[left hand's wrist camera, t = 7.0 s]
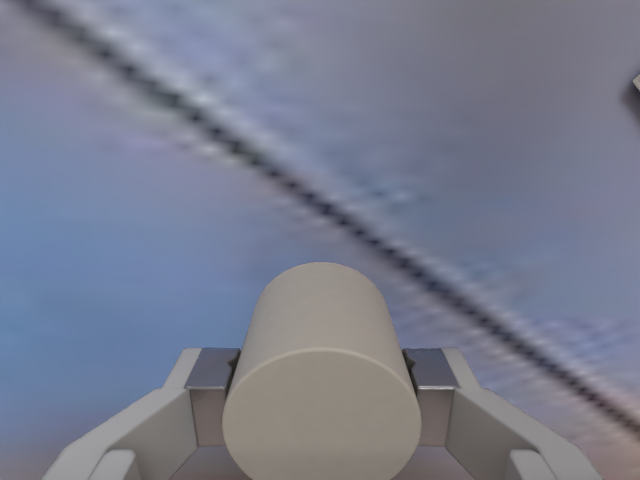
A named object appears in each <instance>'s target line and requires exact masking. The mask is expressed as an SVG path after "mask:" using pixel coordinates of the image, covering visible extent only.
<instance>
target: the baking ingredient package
mask: <svg viewBox="0 0 640 480" xmlns="http://www.w3.org/2000/svg"><path fill="white" fill-rule="evenodd" d="M633 83H634V84H635V86H636V88H637V89H638V90H639V91H640V74H639V75H638V76H637V77H636V78H635V79H634V80H633Z"/></svg>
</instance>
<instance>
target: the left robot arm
mask: <svg viewBox="0 0 640 480" xmlns="http://www.w3.org/2000/svg"><path fill="white" fill-rule="evenodd" d="M240 354H241V350H240V348H185V349H183V350H182V352H181V354H180V356H179V357H178V359H177V361H176V363H175V365H174V366H173V368H172V370H171V372H170V374H169V375H168V377H167V379H166V381H165V383H164V384H163V386H162V388H156V389H154V390H153V391H151V392H150V393H148V394H146V395H145V396H143V397H142V398H140V399H139V400H137V401H136V402H134V403H133V404H131V405H129V406H128V407H126V408H125V409H123V410H122V411H120V412H119V413H117V414H115V415H114V416H112V417H111V418H109V419H108V420H106V421H105V422H103V423H102V424H100V425H98V426H97V427H95V428H94V429H92V430H91V431H89V432H88V433H86V434H85V435H83V436H81V437H80V438H78V439H77V440H75V441H74V442H72V443H71V444H69V445H68V446H66V447H64V449H63V450H62V451H61V453H60V454H59V456H58V457H57V458H56V460H55V461H54V462H53V464H52V465H51V466H50V468H49V469H48V470H47V472H46V473H45V474H44V476H43V477H42V479H41V480H169V479H170V478H171V477H172V476H173V475H174V474H175V472H176V471H177V470H178V469H179V468H180V467H181V466H182V465H183V464H184V463H185V462H186V461H187V460H188V459H189V458H190V457H191V456H192V454H193V453H194V452H195V451H196V450H197V449H198V447H205V446H226V444H225V441H224V437H223V431H222V415H223V410H224V405H225V402H226V399H227V396H228V393H229V389H230V386H231V383H232V380H233V376H234V373H235V370H236V367H237V364H238V360H239V357H240ZM402 354H403V357H404V360H405V363H406V366H407V370H408V373H409V376H410V379H411V382H412V385H413V388H414V391H415V394H416V397H417V401H418V404H419V408H420V412H421V421H422V426H421V435H420V439H419V442H418V446H438V447H446V450H447V451H448V452H449V453H450V454H451V455H452V456H453V457H454V458H455V459H456V460H457V461H458V462H459V463H460V464H461V465H462V466H463V467H464V469H465V470H466V471H467V472H468V473H469V474H470V475H471V476H472V477H473V478H474V479H475V480H604V479H603V477H602V476H601V475H600V473H599V472H598V471H597V469H596V468H595V467H594V465H593V464H592V463H591V461H590V460H589V459H588V457H587V456H586V455H585V453H584V452H583V450H582V449H581V448H580V447H578V446H577V445H575V444H574V443H572V442H570V441H569V440H567V439H566V438H564V437H563V436H561V435H560V434H558V433H556V432H555V431H553V430H552V429H550V428H549V427H547V426H545V425H544V424H542V423H541V422H539V421H538V420H536V419H535V418H533V417H531V416H530V415H528V414H527V413H525V412H524V411H522V410H521V409H519V408H517V407H516V406H514V405H513V404H511V403H510V402H508V401H507V400H505V399H503V398H502V397H500V396H499V395H497V394H496V393H494V392H493V391H491V390H489V389H488V388H482V387H481V385H480V384H479V382H478V380H477V378H476V377H475V375H474V373H473V371H472V370H471V368H470V366H469V364H468V363H467V361H466V359H465V357H464V356H463V354H462V352H461V350H460V349H459V348H457V347H455V348H439V349H402Z"/></svg>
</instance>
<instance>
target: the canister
mask: <svg viewBox="0 0 640 480" xmlns="http://www.w3.org/2000/svg"><path fill="white" fill-rule="evenodd" d="M421 426H422V421H421V412H420V408H419V404H418V401H417V397H416V394H415V391H414V388H413V385H412V382H411V379H410V376H409V373H408V370H407V366H406V363H405V360H404V357H403V354H402V351H401V348H400V345H399V342H398V339H397V335H396V332H395V329H394V326H393V323H392V320H391V317H390V314H389V311H388V308H387V304H386V302H385V300H384V297H383V295H382V294H381V292H380V291H379V289H378V288H377V287H376V285H375V284H374V283H373V282H372V281H371V280H370V279H368V278H367V277H366V276H364V275H363V274H362V273H360V272H358V271H356V270H354V269H352V268H350V267H347V266H344V265H341V264H336V263H330V262H313V263H306V264H302V265H298V266H295V267H293V268H290V269H288V270H286V271H284V272H282V273H281V274H279V275H278V276H277V277H275V278H274V279H273V280H272V281H271V282H270V283H269V284H268V285H267V286H266V287H265V288H264V290H263V291H262V293H261V294H260V296H259V298H258V300H257V303H256V306H255V309H254V312H253V315H252V318H251V322H250V325H249V328H248V331H247V335H246V338H245V341H244V344H243V347H242V351H241V354H240V357H239V360H238V364H237V367H236V370H235V373H234V376H233V380H232V383H231V386H230V389H229V393H228V396H227V399H226V402H225V405H224V410H223V415H222V431H223V437H224V441H225V444H226V447H227V449H228V451H229V453H230V455H231V457H232V459H233V460H234V462H235V463H236V464H237V466H238V467H239V468H240V469H241V470H242V471H243V472H244V473H245V474H246V475H247V476H249V477H250V478H251V479H252V480H391V479H392V478H394V477H395V476H396V475H397V474H398V473H399V472H400V471H401V470H402V469H403V468H404V467H405V466H406V465H407V464H408V462H409V461H410V459H411V458H412V456H413V454H414V452H415V450H416V448H417V446H418V442H419V439H420V435H421Z"/></svg>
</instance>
